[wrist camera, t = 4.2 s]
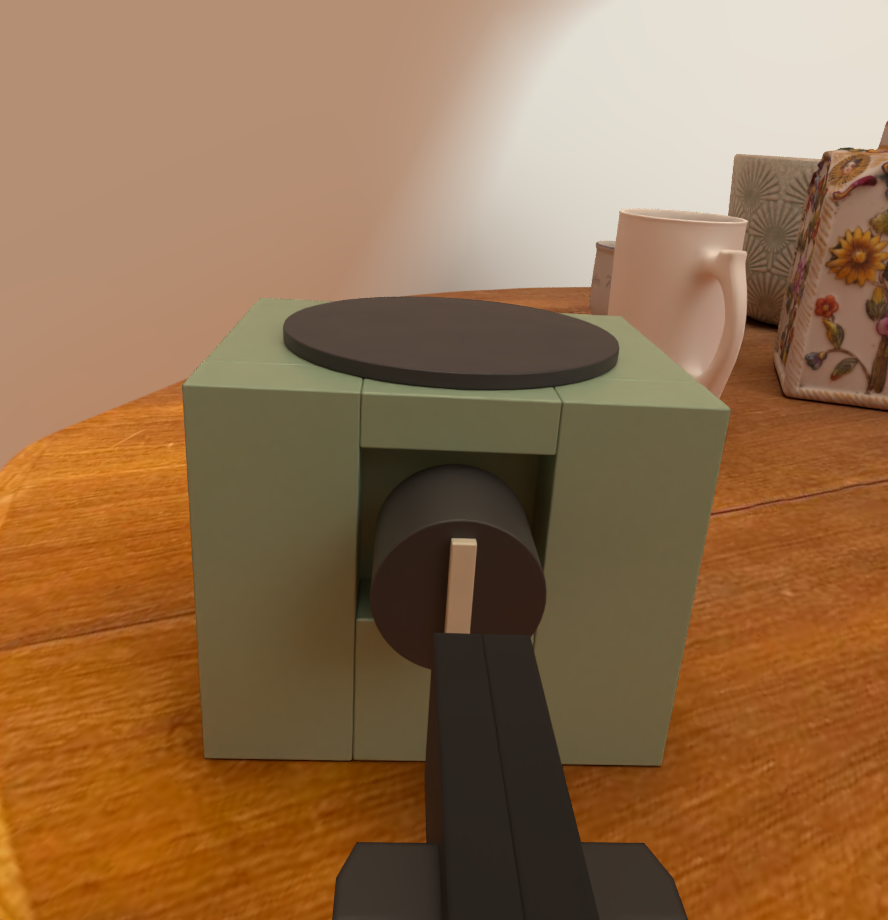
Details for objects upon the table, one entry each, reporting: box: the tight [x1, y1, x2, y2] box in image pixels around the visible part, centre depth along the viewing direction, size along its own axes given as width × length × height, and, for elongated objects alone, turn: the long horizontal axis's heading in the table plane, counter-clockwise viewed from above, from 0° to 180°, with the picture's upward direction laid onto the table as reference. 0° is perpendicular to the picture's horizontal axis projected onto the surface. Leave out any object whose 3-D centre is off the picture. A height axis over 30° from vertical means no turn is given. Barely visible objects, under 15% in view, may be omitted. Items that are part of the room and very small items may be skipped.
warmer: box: [182, 297, 731, 766], centre depth 24 cm, size 12×10×10 cm
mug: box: [608, 209, 748, 399], centre depth 45 cm, size 10×7×12 cm, turn 16°
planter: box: [728, 154, 821, 326], centre depth 80 cm, size 17×17×15 cm
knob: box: [370, 464, 547, 670], centre depth 18 cm, size 4×3×4 cm
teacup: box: [590, 241, 616, 316], centre depth 67 cm, size 14×11×8 cm
